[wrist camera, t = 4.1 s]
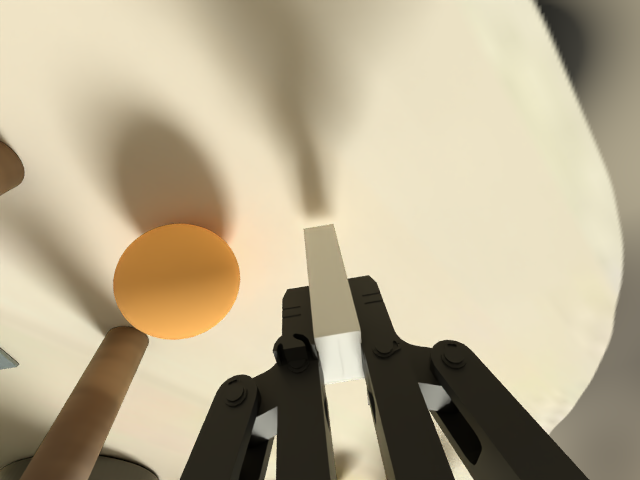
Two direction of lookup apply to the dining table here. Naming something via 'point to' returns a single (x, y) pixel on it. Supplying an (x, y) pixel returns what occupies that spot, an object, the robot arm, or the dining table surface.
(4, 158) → the post
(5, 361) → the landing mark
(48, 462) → the post
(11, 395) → the dining table surface
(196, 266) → the ball
